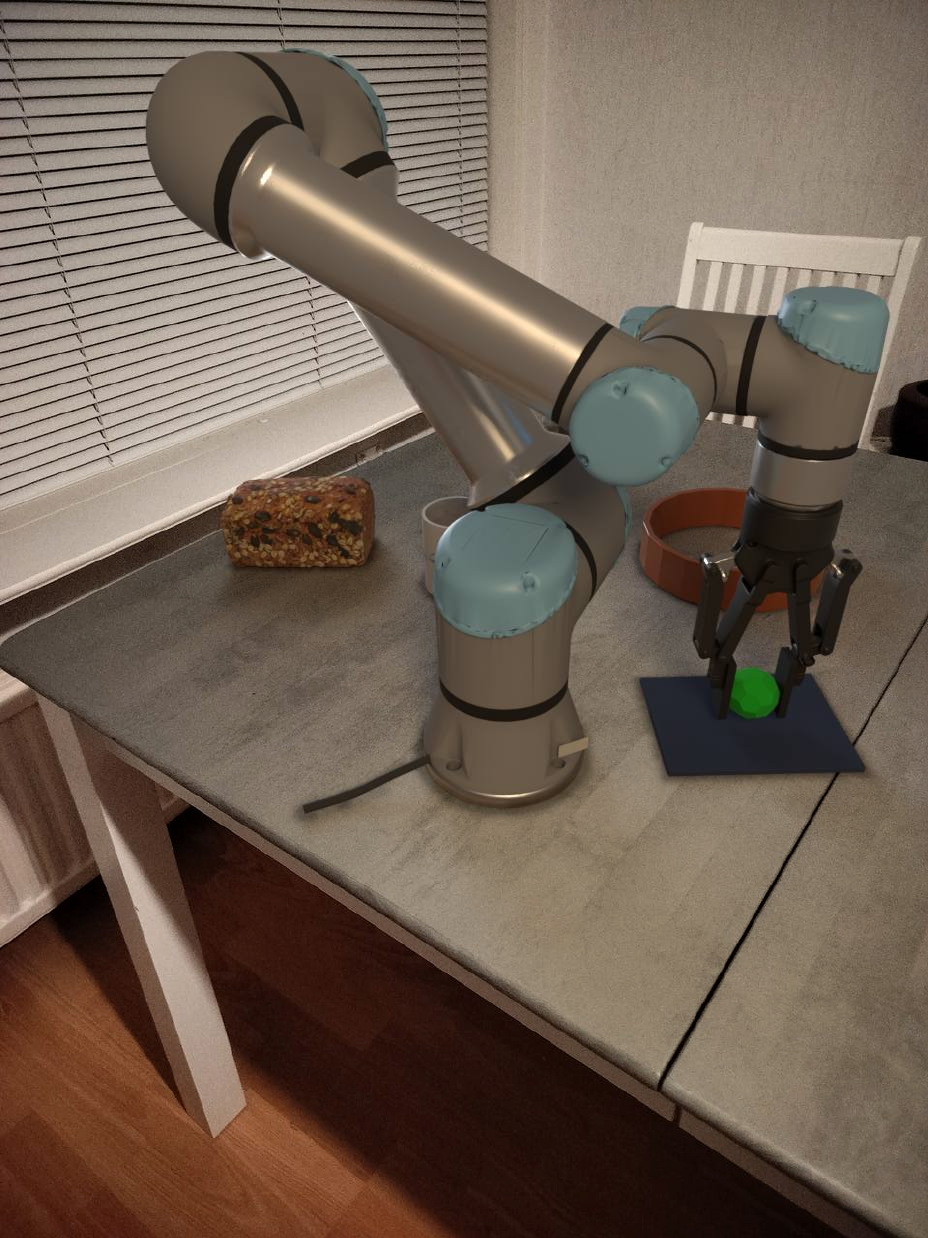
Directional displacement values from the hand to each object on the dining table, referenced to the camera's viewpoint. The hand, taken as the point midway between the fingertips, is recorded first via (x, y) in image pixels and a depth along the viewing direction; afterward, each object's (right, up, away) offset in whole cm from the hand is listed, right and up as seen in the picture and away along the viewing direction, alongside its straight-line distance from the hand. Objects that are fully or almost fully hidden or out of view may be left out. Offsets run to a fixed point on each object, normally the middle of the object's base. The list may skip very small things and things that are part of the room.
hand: (747, 709), depth 80 cm
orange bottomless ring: (+7, +16, +27) cm, 32 cm away
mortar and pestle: (-15, +31, +50) cm, 61 cm away
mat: (0, -2, +1) cm, 2 cm away
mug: (-28, +12, +23) cm, 38 cm away
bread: (-49, +18, +32) cm, 61 cm away
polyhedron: (0, 0, 0) cm, 0 cm away
